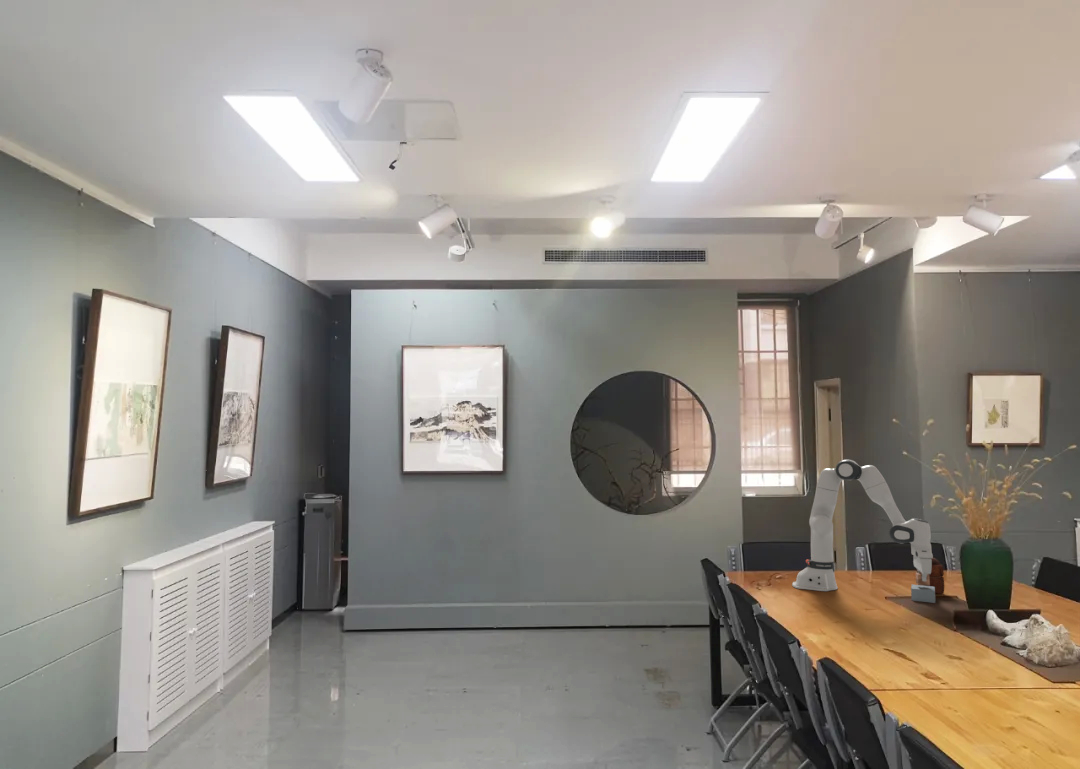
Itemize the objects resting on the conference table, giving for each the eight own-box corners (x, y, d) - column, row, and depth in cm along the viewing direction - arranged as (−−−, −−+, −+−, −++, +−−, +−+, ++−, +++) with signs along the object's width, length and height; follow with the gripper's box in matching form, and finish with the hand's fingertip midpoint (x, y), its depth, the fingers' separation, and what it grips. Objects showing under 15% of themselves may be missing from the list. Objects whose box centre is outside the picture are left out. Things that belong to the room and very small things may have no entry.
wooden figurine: (941, 591, 342) (940, 556, 343) (945, 594, 336) (943, 558, 337) (916, 590, 346) (914, 555, 347) (919, 593, 340) (917, 557, 341)
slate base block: (911, 600, 325) (911, 588, 325) (912, 596, 334) (911, 584, 334) (935, 603, 320) (934, 590, 320) (935, 598, 328) (934, 586, 329)
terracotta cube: (918, 584, 326) (917, 574, 326) (915, 582, 330) (915, 572, 331) (929, 585, 324) (929, 575, 325) (927, 583, 329) (926, 573, 329)
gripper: (909, 547, 339) (910, 574, 338) (919, 554, 320) (920, 583, 319) (923, 548, 337) (924, 575, 336) (933, 555, 318) (934, 584, 317)
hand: (922, 579), depth 327 cm, fingers closed on terracotta cube, 5 cm apart
